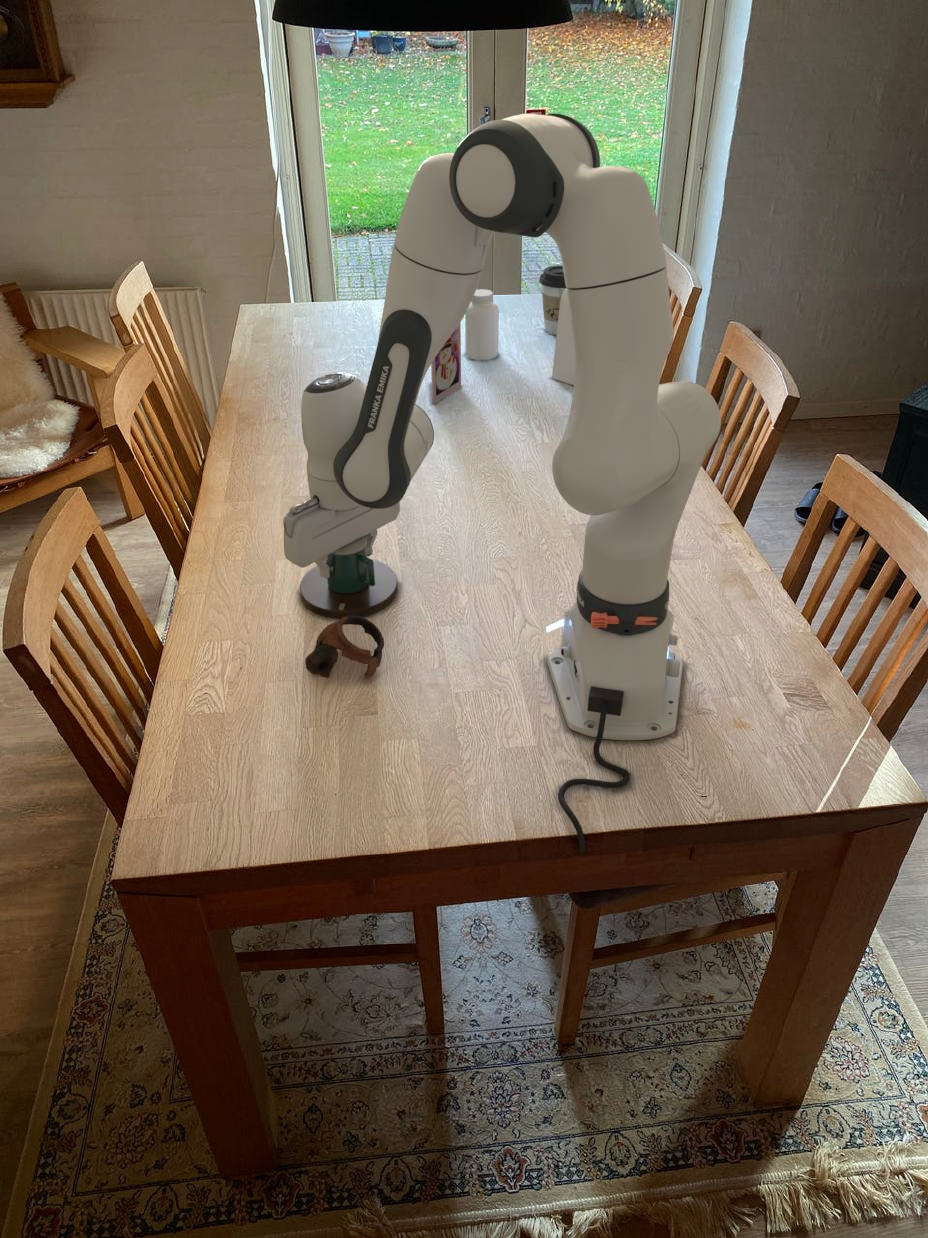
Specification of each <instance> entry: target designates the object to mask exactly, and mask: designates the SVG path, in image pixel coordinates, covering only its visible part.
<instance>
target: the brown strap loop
mask: <svg viewBox="0 0 928 1238" xmlns="http://www.w3.org/2000/svg"><path fill="white" fill-rule="evenodd" d="M344 625H346V626H347V625H355V626H360V627H361V628H362V629H363V631H364V634H368V635H369V636H370V637H372V639H373V640H374V642H375V643H376V648H374V650H373V655H372V652H371V650H369V649H364V648H360V647H358V646H357V645H355V644H354V643H352V642H351V641H349V640H348V638H347V637H346V634H345V633H344V629H343V628H344V627H343V626H344ZM384 648H385V639H384V637H383V633H382V631H381V630H380V629H379V627H378V626H377V625H376V624H375V623H374V622H372V621H371V620H369V618H366V617H361V616H358V615H347V616H345V617H342V618H341V619H338V621H334V622H331V623H329V624H327V625H326V627H324V628H323V629H322V630H321V632H320V633H319V634H318V636H317V639H316V642H315V646H314V649H313V651H312V652H310V653H309V654H308V655H307V656H306V657H305V660H304V664H305V668H306V670H307V671H308V672H310V674H312V675H315V676H316V675H318V676H320V677H321V678H325V679H329V678H330V674H331V671H332V669H333V667H334V666H335V665H336V664H337V661H338V658H339V651H341V654H340V656H341V657H343V658H345V659H348V660H350V661H353V662H357V663H359V664H361V665H365V666H367V669H366V671H365V674H364V678H365V679H369V678H371V677H373V676H374V674H376V672H377V669H378V668H379V667H381V666H380V665H381V663H382V659H383V650H384Z"/></svg>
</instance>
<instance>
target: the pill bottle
mask: <svg viewBox="0 0 928 1238" xmlns="http://www.w3.org/2000/svg"><path fill="white" fill-rule="evenodd" d="M499 318H500V309H499V306H498V305H497V304H496V303H495V302H494V292H493V291H492V290H490V289H487V288H486V289H485V288H482V289H481V288H479V289H476V292H475V294H474V297H473V299H472V301H471V303H470V305H469V308H468V310H467V312H466V313H465V315H464V331H465V332H464V333H465V334H464V335H465V336H464V339H465V344H464V345H465V346H464V347H465V349H464V350H465V355H466V357H467V358H468V359H471V360H475V361H488V360H493V359H495V358H496V357H497V356H498V354H499V332H500V331H499V328H500V325H499V321H500V319H499Z"/></svg>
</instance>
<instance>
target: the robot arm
mask: <svg viewBox="0 0 928 1238" xmlns="http://www.w3.org/2000/svg"><path fill="white" fill-rule="evenodd" d="M407 193H408V194H407V196H406V198H405V202H404V203H403V204H404V205H403V208H402V211H401V214H400V218H399V220H398V225H397V229H396V233H395V237H394V242H393V247H392V252H391V256H390V263H389V269H388V274H387V275H388V276H387V281H386V288H385V296H384V302H383V311H382V314H381V315H382V316H381V321H380V327H379V332H378V340H377V345H376V348H375V349H376V350H375V353H374V356H373V357H374V358H373V361H372V365H371V369H370V373H369V376H368V380H367V383H366V384H365V383H364V382H363V381H362V380H361V379H360V378H359V377H358V376H356V375H355V374H353V373H348V372H332V373H329V374H325V375H323V376H320V377H317V378H316V379H314V380H313V381H312V382H310V383H309V384H308V385H307V386H306V387H305V389H304V390H303V392H302V396H301V403H300V406H301V407H300V416H301V431H302V432H301V433H302V441H303V445H304V447H305V450H306V453H307V459H306V475H307V481H308V482H307V484H308V485H307V486H308V492H309V498H307V499H305V500H304V501H302V502H301V503H299V504H294V505H293V506H291V507H290V508H289V511H288V512H287V513H286V515H285V516H284V517H283V520H282V523H283V553H284V557H285V559H286V560H287V561H289V562H290V563H292V564H293V565H295V566H298V567H299V568H303V569H304V568H306V567H308V566H310V565H311V564H314V563H315V564H316V566H317V565H318V566H319V571H320V575H321V576H322V577H323V578H325V579H328V578H330V577H332V576H333V575H334V574H335V572H334V566H333V565H329V563H327V562H325V561H327V555H329V554H331V553H333V552H335V551H337V550H338V549H340V548H342V547H344V546H346V545H348V544H350V543H352V542H354V541H356V540H358V539H359V538H361V537H363V536H366V539H367V544H366V547H367V558H369V557H370V556H371V555H373V554H374V553H373V546H374V544H375V540H376V539H377V536H378V530H379V529H380V528H383V527H384V526H386V525H389V524H390V523H392V522H394V521H395V520H397V518H398V516H399V514H400V511H401V501H402V499H403V498H404V496H405V495H406V492H407V491H408V489H409V486H410V483H411V481H412V480H413V478H414V477H415V475H416V474H417V472H418V470H419V468H420V467H421V466H422V463H423V462H424V460H425V459H426V457H427V455H429V453H430V450H431V449H432V447H433V445H434V440H435V430H434V425H433V422H432V421H431V418H430V417H429V415H428V414H427V412H426V411H425V410H424V409H423V408H422V407H421V406H419V405H418V404H417V400H418V397H419V393H420V390H421V387H422V384H423V381H424V379H425V377H426V374H427V373H428V371H429V369H430V368H431V363H432V362H433V360H434V359H435V357H436V356H437V354H438V353H439V351H440V350H441V348H442V347H443V346H444V344H445V343H446V341H447V340H448V339H449V337H450V336H451V335H452V333H453V332H454V331H455V329H456V328H457V327H458V325H459V324H460V322H462V321H463V319H464V318H465V313H466V312H467V310H468V308H469V305H470V303H471V301H472V299H473V297H474V294H475V292H476V290H478V287H479V284H480V280H481V277H482V273H483V271H484V266H485V262H486V258H487V255H488V250H489V246H490V244H491V240H492V238H493V236H494V234H495V233H501V234H507V235H515V236H523V237H527V238H534V239H535V238H536V239H537V238H539V237H542V235H543V234H545V233H546V234H547V235H549V236H550V237H551V239H552V240H553V241H554V242H555V244H556V247H557V249H558V252H559V255H560V261H561V265H563V272H564V278H565V285H566V291H567V297H568V304H569V311H570V317H571V324H572V332H573V339H574V347H575V381H574V385H573V392H572V398H571V405H570V410H569V416H568V420H567V424H566V427H565V431H564V432H563V435H562V437H561V440H560V441H559V443H558V445H557V447H556V449H555V450H554V453H553V456H552V462H551V465H552V466H551V471H552V478H553V481H554V484H555V486H556V489H557V491H558V493H559V494H560V496H561V498H562V499H563V500H564V501H565V502H566V503H567V504H568V505H569V506H570V507H571V508H573V510H576V511H578V512H579V513H582V514H584V515H587V516H589V518H588V521H587V523H586V527H585V533H584V546H583V556H582V557H583V558H582V569H581V571H580V573H579V575H578V580H577V583H576V601H575V602H574V603H573V604H572V605H571V606H570V607H568V608H567V610H565V611H564V613H563V619H561V620H558V621H557V622H554V623H552V624H550V625H548V626H546V627H545V628H546V630H545V631H546V633H549V632H551V631H554V630H556V629H558V628H560V627H562V631H561V639H560V640H561V641H560V647H558V648H556V649H553V650H552V651H550V652H548V654H547V656H546V664H547V668H548V670H549V673H550V677H551V680H552V683H553V686H554V689H555V693H556V696H557V699H558V702H559V704H560V707H561V708H560V709H561V711H562V714H563V717H564V720H565V723H566V725H567V727H568V728H569V729H570V730H572V731H573V732H576V733H578V734H580V735H584V736H588V737H592V738H595V740H594V743H593V748H592V749H593V756H594V759H595V760H596V762H597V763H598V764H599V765H600V766H602V767H604V768H606V769H607V770H610V771H613V772H615V773H618V774H620V775H622V776H623V778H622V779H621V780H620V781H619V780H618V781H604V780H598V779H590V778H573V779H569V780H566V781H565V782H564V783H563V784H562V785H561V787H560V788H559V790H558V793H557V799H558V803H559V805H560V807H561V808H562V810H563V811H564V813H565V815H567V817H568V819H569V821H571V823H572V825H573V827H574V829H575V831H576V835H577V840H578V841H577V842H578V852H579V854H584V853H585V852H586V842H585V841H586V840H585V834H584V831H583V827H582V825H581V822H580V821H579V819H578V818H577V816H576V815H575V813H574V812H573V810H572V809H571V807H570V806H569V804H568V803H567V801H566V798H565V794H566V792H567V790H568V789H569V788H570V787H574V786H577V785H579V786H581V785H583V786H584V785H585V786H593V787H599V788H606V789H607V788H608V789H618V788H619V789H620V788H623V787H625V786H626V785H627V784H628V783H629V781H630V779H631V775H630V773H629V771H628V770H627V769H625V768H623V767H621V766H618V765H615V764H612V763H610V762H608V761H607V760H605V759H604V758H603V757H602V756H601V754H600V747H601V743H602V740H603V739H605V740H614V741H648V740H655V739H659V738H663V737H666V736H669V735H672V734H673V733H674V732H675V731H676V729H677V722H678V714H679V713H678V712H679V705H680V696H681V695H680V694H681V686H682V677H683V669H684V660H683V658H682V657H681V656H679V655H678V654H676V653H674V652H671V651H669V650H670V646H677V645H678V639H679V638H678V635H676V634H672V631H673V627H674V620H675V614H673V613H672V611H671V610H669V608H668V607H669V602H670V581H669V579H668V578H669V573H670V564H671V559H672V553H673V547H674V541H675V537H676V534H677V531H678V530H677V529H678V527H679V523H680V521H681V518H682V515H683V513H684V510H685V509H686V505H687V503H688V500H689V498H690V495H691V493H692V490H693V488H694V485H695V482H696V479H697V478H698V474H699V472H700V470H701V467H702V465H703V463H704V461H705V459H706V457H707V456H708V454H709V453H710V450H711V448H712V447H713V446H714V444H715V443H716V441H717V439H718V437H719V435H720V432H721V426H722V416H721V411H720V408H719V405H718V403H717V402H716V400H715V398H714V397H713V395H712V394H711V393H710V391H708V390H707V388H705V387H703V386H702V385H700V384H698V383H696V382H693V381H688V380H681V381H672V382H666V383H665V382H664V383H660V381H661V377H662V371H663V368H664V365H665V362H666V359H667V357H668V355H669V353H670V351H671V349H672V346H673V343H674V335H675V332H674V331H675V330H674V321H673V314H672V305H671V296H670V289H669V279H668V272H667V264H666V256H665V248H664V244H663V239H662V234H661V230H660V225H659V221H658V216H657V212H656V209H655V206H654V202H653V199H652V196H651V192H650V189H649V186H648V184H647V182H646V181H645V179H644V177H643V176H642V175H641V174H640V173H639V172H637V171H636V170H634V169H631V168H629V167H626V166H622V165H604V166H603V165H602V166H601V157H600V151H599V146H598V143H597V141H596V139H595V137H594V135H593V134H592V132H591V131H590V130H589V128H587V127H586V125H584V124H583V123H582V122H580V121H579V120H577V119H576V118H574V117H571V116H569V115H566V114H561V113H547V114H537V113H528V112H527V113H520V114H514V115H511V116H508V117H505V118H502V119H493V120H490V121H487V122H485V123H483V124H481V125H479V126H478V127H476V128H475V129H473V130H472V131H471V132H469V133H468V134H467V135H466V136H465V137H464V138H463V140H461V142H460V143H459V144H458V146H457V147H456V149H455V151H454V153H453V152H445V153H444V152H443V153H439V154H434V155H432V156H430V157H428V158H427V159H426V160H424V161H423V162H422V163H421V164H420V166H419V167H418V169H417V171H416V173H415V176H414V178H413V180H412V183H411V185H410V188H409V191H408V192H407Z"/></svg>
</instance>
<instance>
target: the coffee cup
mask: <svg viewBox="0 0 928 1238" xmlns="http://www.w3.org/2000/svg"><path fill="white" fill-rule="evenodd" d="M538 283H539V284H540V286H541V287H540V288H541V297H542V298H541V299H542V311H543V323H544V329H545V332H546V333H547V334H549V335H553V336H557V327H558V318H559V308H560V300H561V297H562V294H563V292H564V291H565V289H566V285H565V278H564V272H563V265H562V264H559V265H550V266H547V267H545V268H544V269H543V272H542V273H541V274H540V275H539V279H538Z"/></svg>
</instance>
